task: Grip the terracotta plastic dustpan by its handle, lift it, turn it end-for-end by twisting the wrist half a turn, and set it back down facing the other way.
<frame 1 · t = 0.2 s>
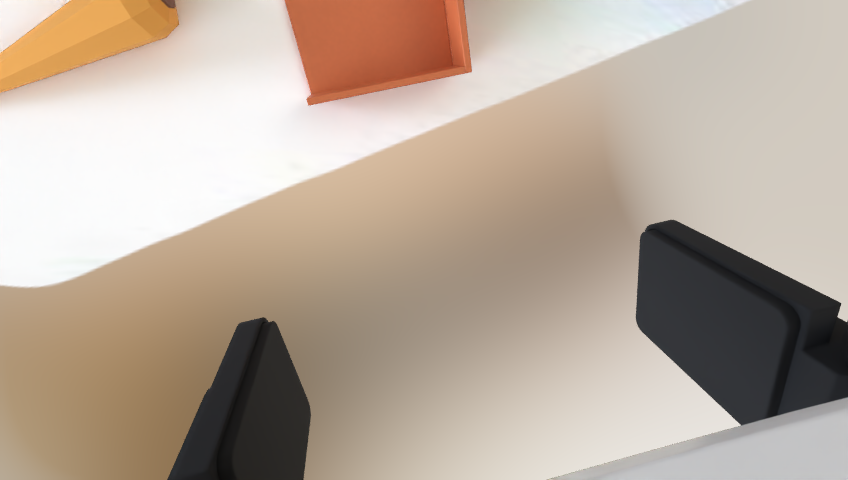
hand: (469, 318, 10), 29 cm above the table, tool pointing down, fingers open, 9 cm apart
carrot: (55, 49, 30), on the table
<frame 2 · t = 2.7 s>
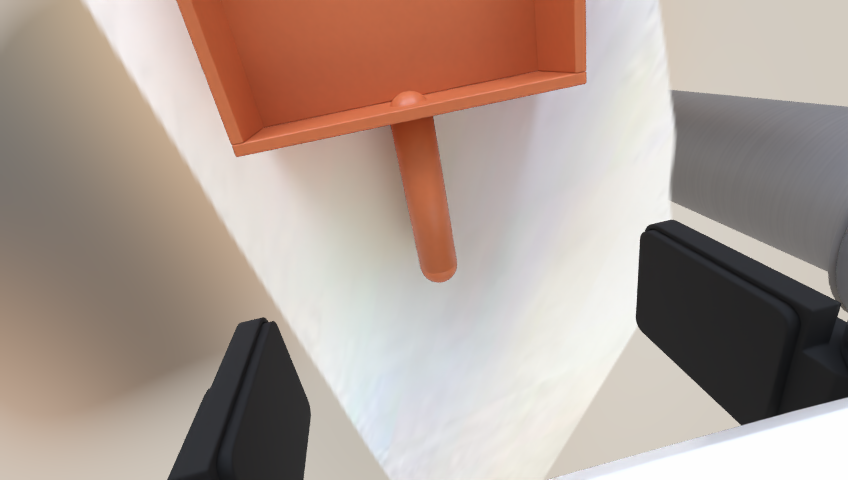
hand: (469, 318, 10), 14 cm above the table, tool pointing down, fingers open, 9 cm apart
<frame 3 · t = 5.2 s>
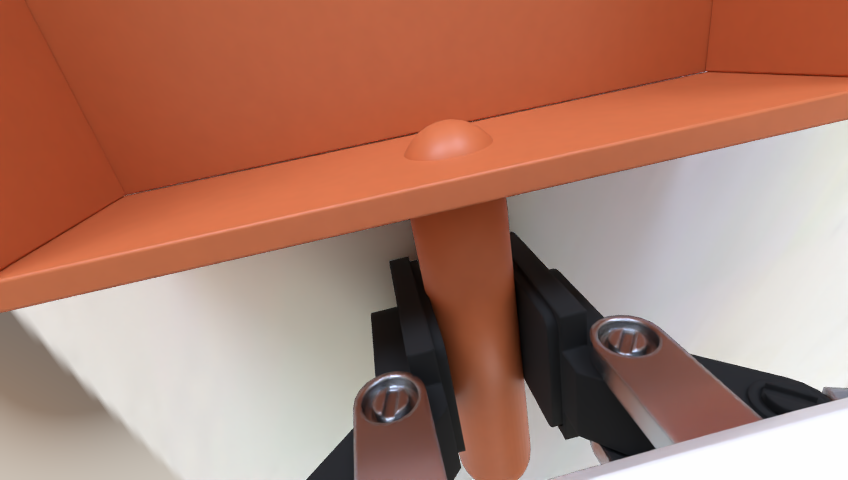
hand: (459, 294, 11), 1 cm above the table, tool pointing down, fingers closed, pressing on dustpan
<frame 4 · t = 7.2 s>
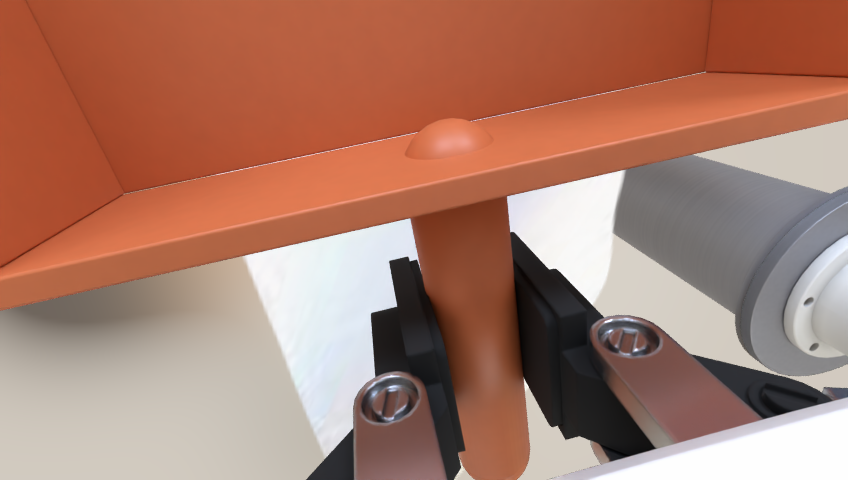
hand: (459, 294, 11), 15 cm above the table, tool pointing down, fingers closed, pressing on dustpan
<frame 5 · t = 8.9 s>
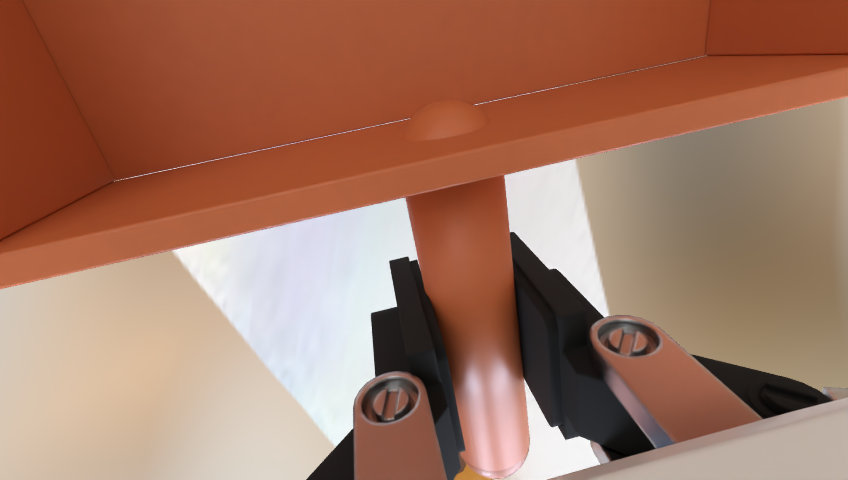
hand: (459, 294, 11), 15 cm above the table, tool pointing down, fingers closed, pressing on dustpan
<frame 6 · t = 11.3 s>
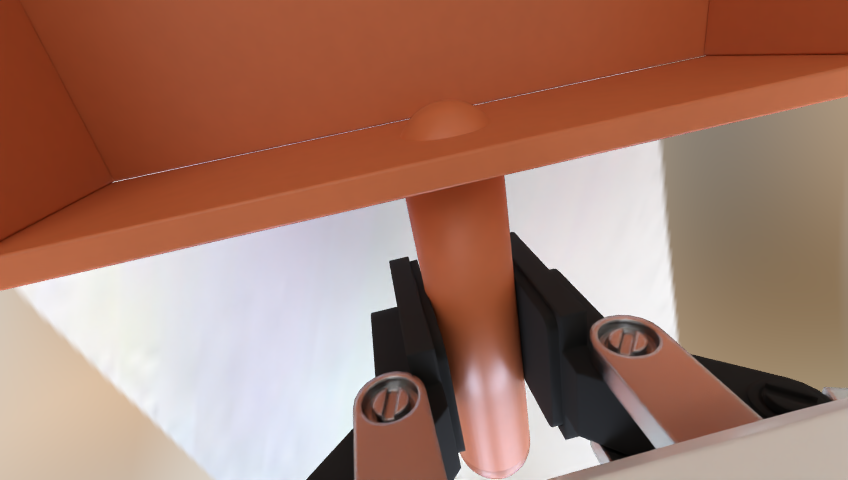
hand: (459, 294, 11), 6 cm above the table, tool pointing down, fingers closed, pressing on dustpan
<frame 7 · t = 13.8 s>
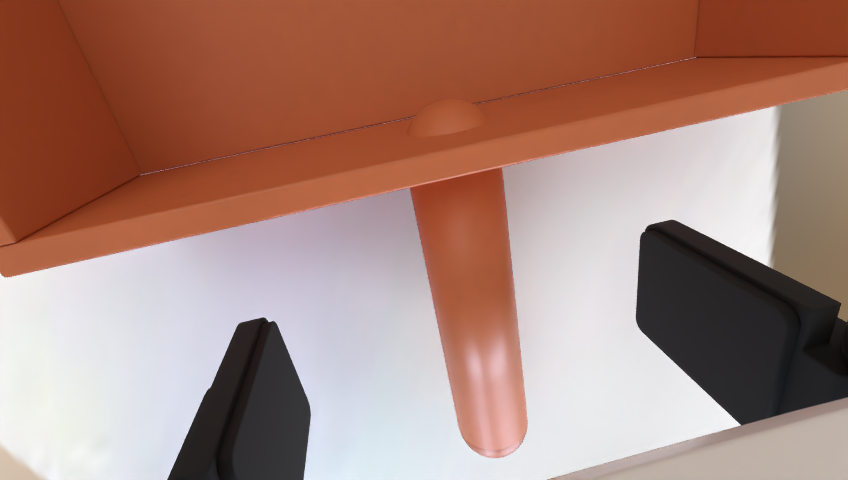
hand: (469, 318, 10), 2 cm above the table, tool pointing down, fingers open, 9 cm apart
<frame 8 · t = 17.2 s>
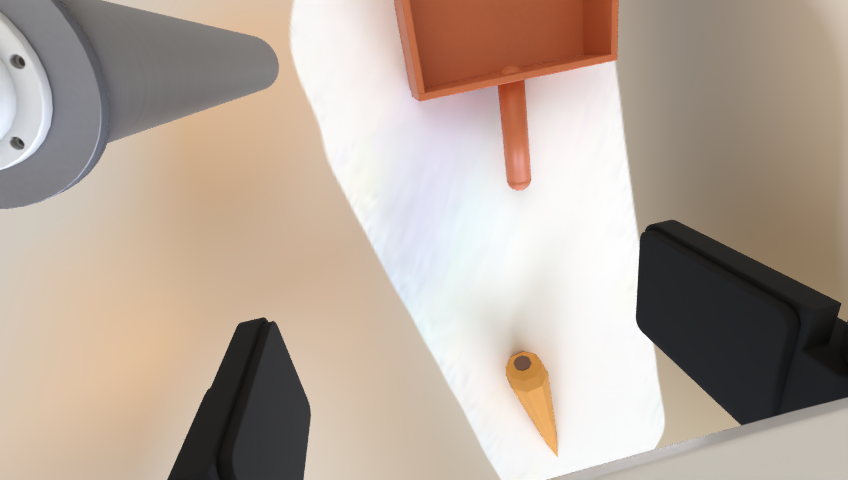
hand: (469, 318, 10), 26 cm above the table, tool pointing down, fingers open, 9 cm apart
carrot: (534, 406, 50), on the table
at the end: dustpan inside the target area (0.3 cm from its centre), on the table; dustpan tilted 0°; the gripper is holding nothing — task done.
